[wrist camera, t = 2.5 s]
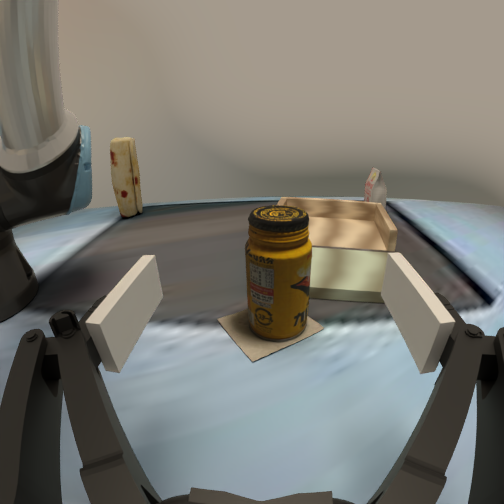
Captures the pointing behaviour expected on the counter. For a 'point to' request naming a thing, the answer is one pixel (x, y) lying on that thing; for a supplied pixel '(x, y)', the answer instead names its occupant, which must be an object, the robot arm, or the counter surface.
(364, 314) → the counter surface
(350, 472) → the counter surface
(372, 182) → the tea bag
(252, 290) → the condiment
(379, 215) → the open-front wooden tray
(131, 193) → the food model
